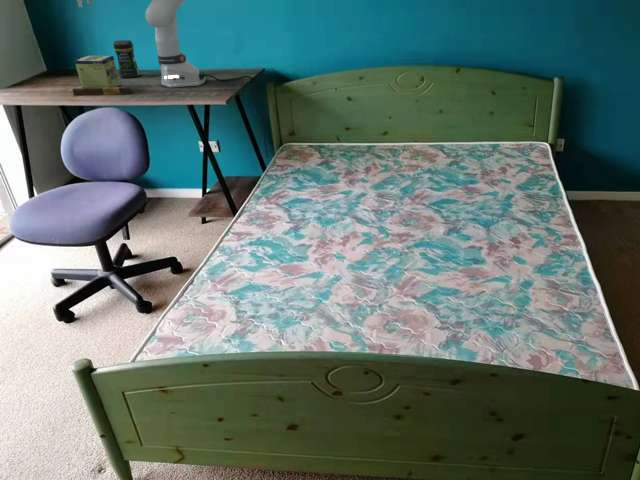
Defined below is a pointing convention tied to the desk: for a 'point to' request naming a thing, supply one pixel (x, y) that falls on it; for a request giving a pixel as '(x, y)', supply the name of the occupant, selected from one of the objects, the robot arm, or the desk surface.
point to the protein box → (97, 72)
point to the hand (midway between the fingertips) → (85, 5)
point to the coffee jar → (126, 58)
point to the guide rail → (102, 91)
